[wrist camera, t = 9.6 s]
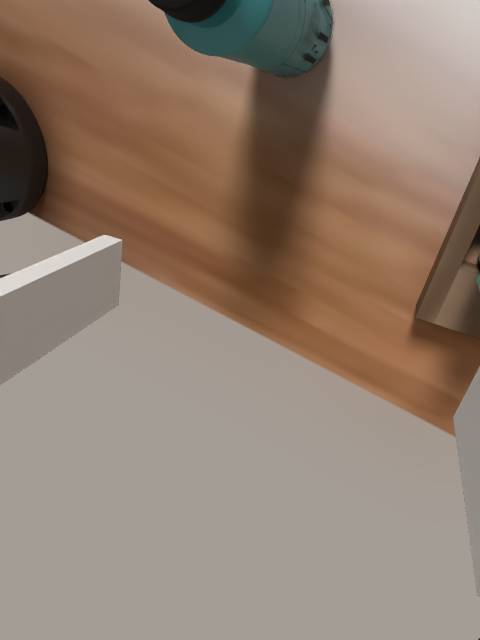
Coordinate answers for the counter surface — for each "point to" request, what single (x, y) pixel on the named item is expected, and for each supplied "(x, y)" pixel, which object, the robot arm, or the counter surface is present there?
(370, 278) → the counter surface
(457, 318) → the rail
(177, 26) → the beverage bottle
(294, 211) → the counter surface
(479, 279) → the notched teal block
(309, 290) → the counter surface
